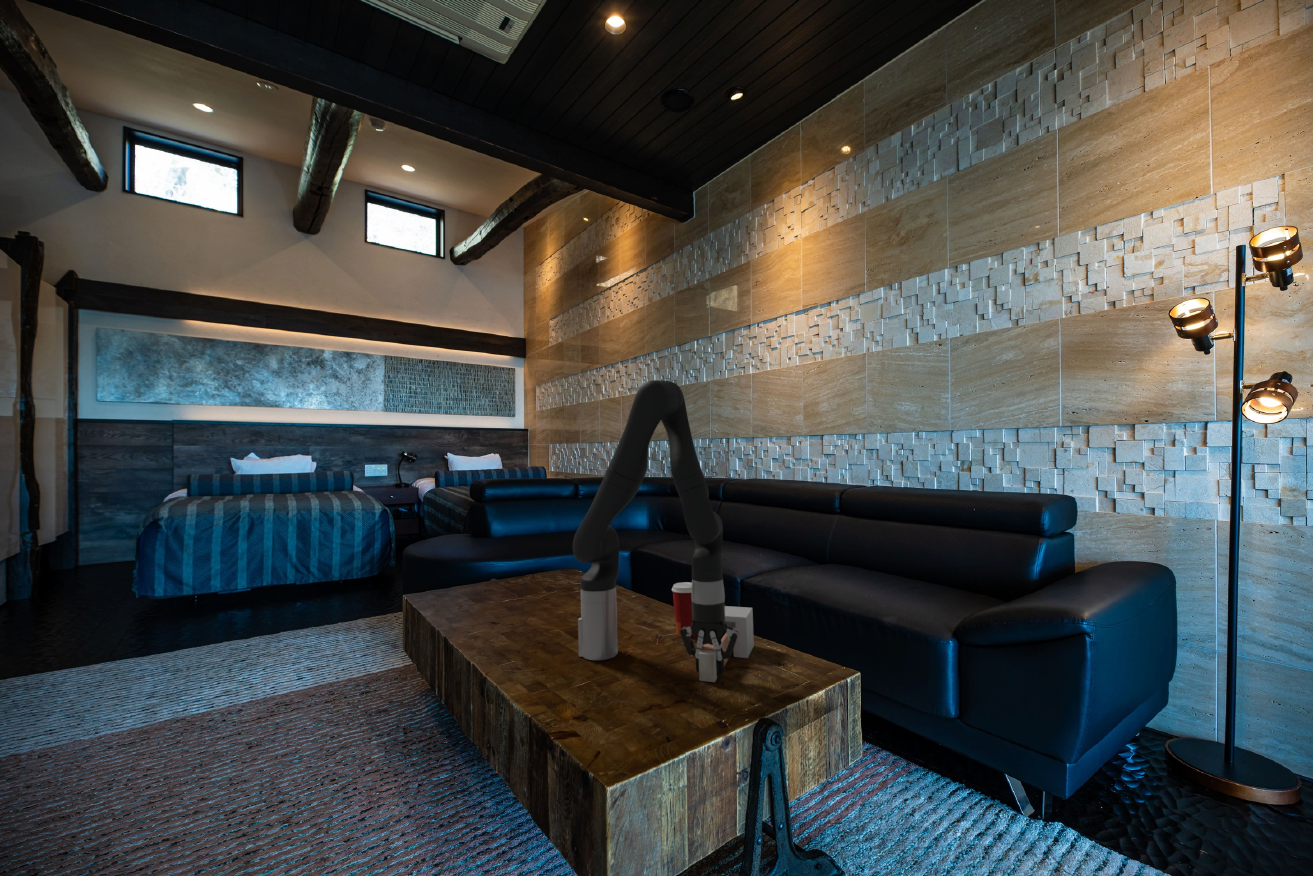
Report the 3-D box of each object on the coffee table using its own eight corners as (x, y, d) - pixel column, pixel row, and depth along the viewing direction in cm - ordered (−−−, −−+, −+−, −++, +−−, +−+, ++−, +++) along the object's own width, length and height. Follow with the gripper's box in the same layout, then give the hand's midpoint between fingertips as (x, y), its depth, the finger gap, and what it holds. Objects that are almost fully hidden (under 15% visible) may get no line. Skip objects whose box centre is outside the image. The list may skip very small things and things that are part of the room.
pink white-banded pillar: (699, 680, 121) (698, 653, 122) (716, 654, 137) (715, 630, 137) (714, 682, 120) (713, 654, 121) (730, 656, 136) (729, 631, 136)
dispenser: (700, 654, 138) (699, 614, 139) (709, 642, 147) (708, 604, 148) (747, 659, 134) (745, 618, 135) (753, 646, 143) (752, 607, 144)
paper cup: (704, 632, 155) (703, 583, 156) (691, 640, 149) (690, 589, 149) (681, 628, 160) (679, 580, 160) (667, 636, 153) (666, 586, 154)
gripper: (673, 601, 123) (675, 678, 122) (735, 605, 118) (738, 685, 118) (683, 593, 130) (685, 665, 130) (741, 596, 126) (744, 671, 125)
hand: (710, 674), depth 124 cm, fingers closed on pink white-banded pillar, 3 cm apart
